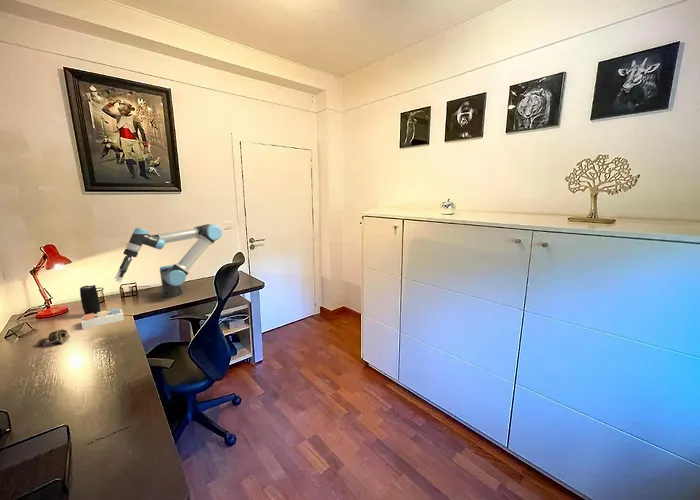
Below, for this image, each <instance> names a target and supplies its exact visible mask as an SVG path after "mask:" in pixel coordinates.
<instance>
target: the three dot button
mask: <svg viewBox="0 0 700 500" xmlns="http://www.w3.org/2000/svg"><path fill="white" fill-rule="evenodd" d="M83 317H84V320H89V319H93V318H95V316H94V313H91V314H86V315H85V314H84V315H83Z"/></svg>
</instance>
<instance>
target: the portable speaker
mask: <svg viewBox="0 0 700 500" xmlns="http://www.w3.org/2000/svg"><path fill="white" fill-rule="evenodd" d="M96 287H97V286H96V285H95V284H94V285H93V284H92V285H82V286H81V287H80V288H79V295H80V301H81V302H80V303H81V306H82V309H83V313H84V315H86V314H91V313H94V314H97V312H101V306H100V305H101V304H100V299H99V294H98V290H97V288H96Z"/></svg>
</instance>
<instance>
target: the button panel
mask: <svg viewBox="0 0 700 500" xmlns="http://www.w3.org/2000/svg"><path fill="white" fill-rule="evenodd" d="M119 311H120V313H117V314H112V315H111V313H110V310H107V316H103V317H98V315H97V314H94V316H95V318H93V319H89V320H84V316H81V327H82V330H86V329H91V328H94V327H99V325H100V326H104V325H107V324H112V323H116V322H120V321H124V320H125V317H124V313H123V310H122V308H119Z"/></svg>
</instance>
